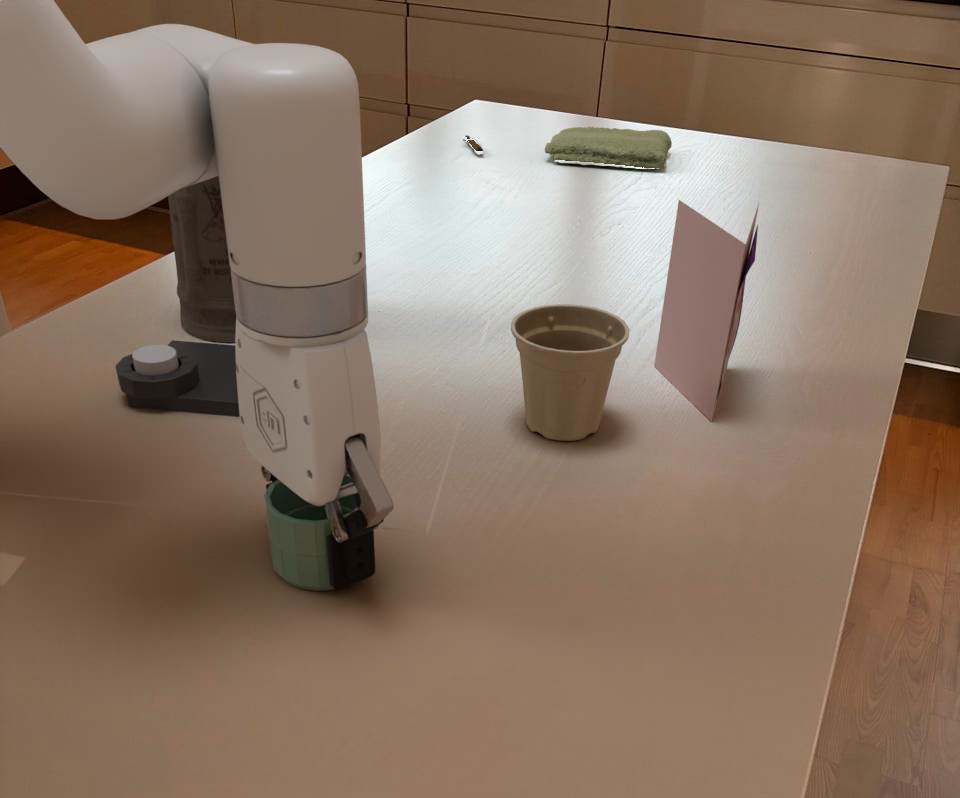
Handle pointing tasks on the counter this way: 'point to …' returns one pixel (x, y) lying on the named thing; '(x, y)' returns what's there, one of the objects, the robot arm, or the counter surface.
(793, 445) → the counter surface
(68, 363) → the counter surface
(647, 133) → the washcloth
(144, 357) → the button
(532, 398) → the flower pot
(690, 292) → the greeting card
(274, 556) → the cup
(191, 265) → the beer stein
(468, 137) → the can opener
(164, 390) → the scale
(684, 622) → the counter surface
